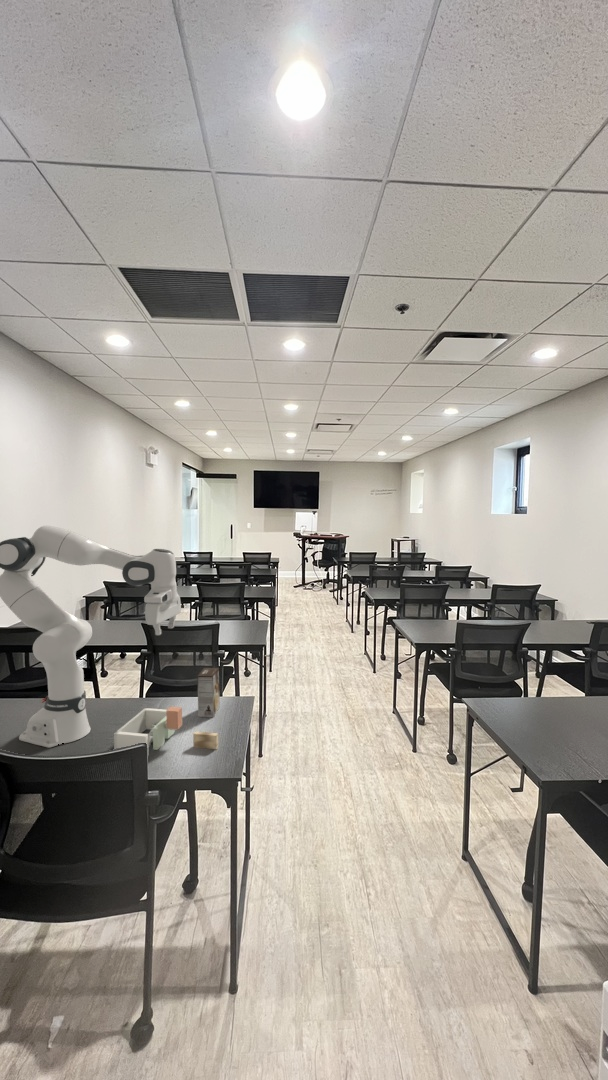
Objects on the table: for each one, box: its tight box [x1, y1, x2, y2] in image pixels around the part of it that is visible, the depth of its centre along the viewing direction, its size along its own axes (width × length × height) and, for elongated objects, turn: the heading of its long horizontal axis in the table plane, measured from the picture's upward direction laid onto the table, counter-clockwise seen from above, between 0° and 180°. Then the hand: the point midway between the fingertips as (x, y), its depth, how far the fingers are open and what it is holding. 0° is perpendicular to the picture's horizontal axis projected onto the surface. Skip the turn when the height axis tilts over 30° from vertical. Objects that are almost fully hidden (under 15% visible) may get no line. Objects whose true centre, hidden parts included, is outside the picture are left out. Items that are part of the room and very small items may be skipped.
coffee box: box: [196, 667, 221, 718], centre depth 174 cm, size 9×6×16 cm
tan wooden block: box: [192, 731, 219, 750], centre depth 148 cm, size 8×2×5 cm, turn 80°
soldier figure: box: [147, 723, 157, 747], centre depth 152 cm, size 8×5×12 cm
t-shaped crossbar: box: [152, 706, 183, 751], centre depth 150 cm, size 6×12×11 cm, turn 170°
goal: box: [113, 707, 168, 757], centre depth 152 cm, size 11×19×7 cm, turn 170°
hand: (165, 631), depth 163 cm, fingers open, 8 cm apart
